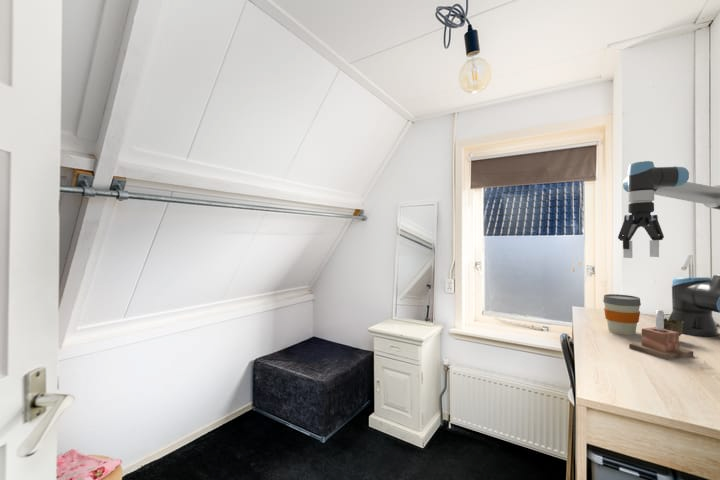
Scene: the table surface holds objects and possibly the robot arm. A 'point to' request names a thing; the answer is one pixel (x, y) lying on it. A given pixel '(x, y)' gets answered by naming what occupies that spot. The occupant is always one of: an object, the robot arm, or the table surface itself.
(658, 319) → the silver metal rod
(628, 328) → the reusable coffee cup
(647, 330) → the brown open box
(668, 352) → the brown square board
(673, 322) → the cup
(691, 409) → the table surface
